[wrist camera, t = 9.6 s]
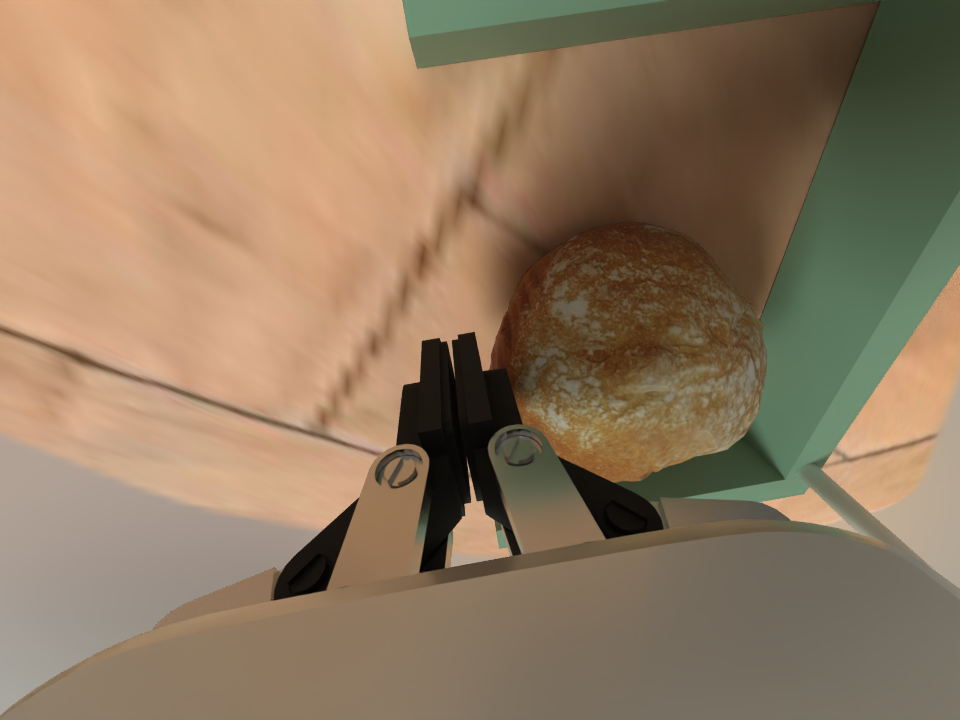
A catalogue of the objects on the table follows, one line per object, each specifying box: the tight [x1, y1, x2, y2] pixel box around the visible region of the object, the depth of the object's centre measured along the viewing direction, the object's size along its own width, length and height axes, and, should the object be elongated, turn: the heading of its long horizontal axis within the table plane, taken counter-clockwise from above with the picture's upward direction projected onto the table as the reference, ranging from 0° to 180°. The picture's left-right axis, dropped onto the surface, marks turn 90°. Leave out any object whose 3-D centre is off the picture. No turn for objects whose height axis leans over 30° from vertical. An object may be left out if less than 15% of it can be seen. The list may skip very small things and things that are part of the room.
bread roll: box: [489, 222, 767, 483], centre depth 13 cm, size 10×10×8 cm
